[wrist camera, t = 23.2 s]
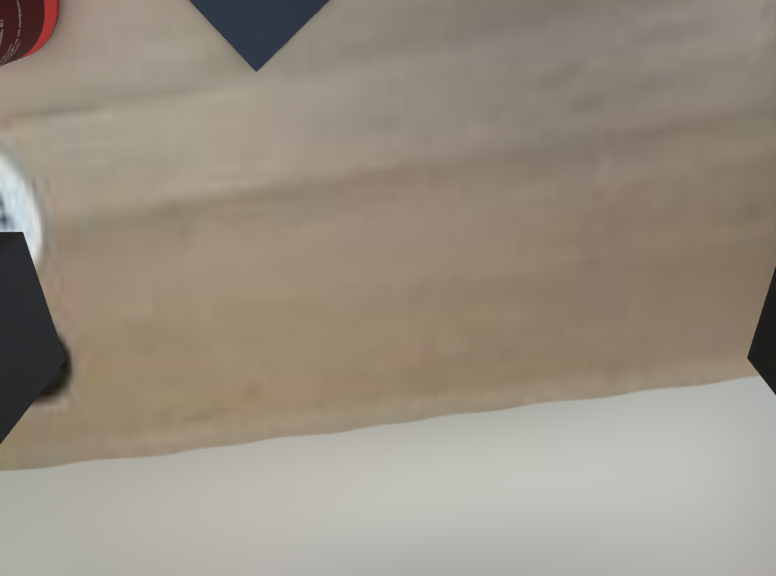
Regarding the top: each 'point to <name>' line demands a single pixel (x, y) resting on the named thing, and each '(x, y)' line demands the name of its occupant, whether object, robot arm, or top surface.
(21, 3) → the canned food
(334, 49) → the top surface
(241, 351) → the top surface
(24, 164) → the top surface
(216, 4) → the felt mat
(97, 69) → the top surface
